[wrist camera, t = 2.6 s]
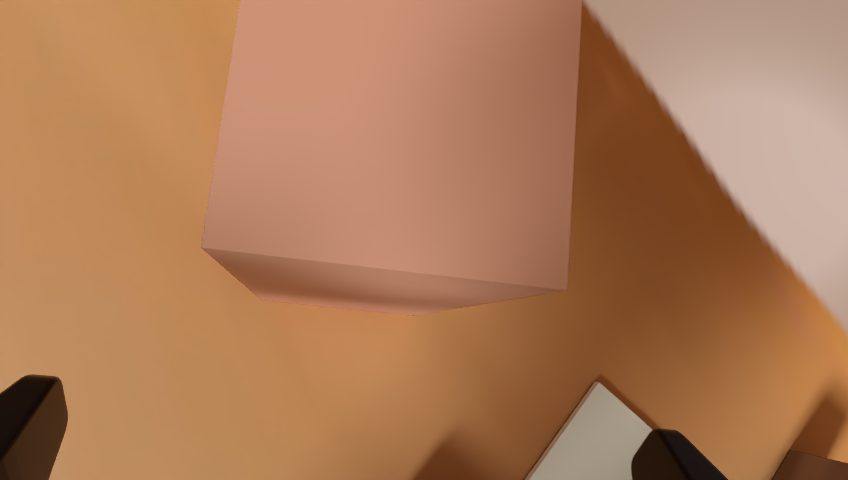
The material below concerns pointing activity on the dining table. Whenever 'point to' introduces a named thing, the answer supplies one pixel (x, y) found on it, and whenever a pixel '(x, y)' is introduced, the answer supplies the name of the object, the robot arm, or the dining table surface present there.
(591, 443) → the corner bracket
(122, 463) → the dining table surface
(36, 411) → the robot arm
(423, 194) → the terracotta block
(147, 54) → the dining table surface
